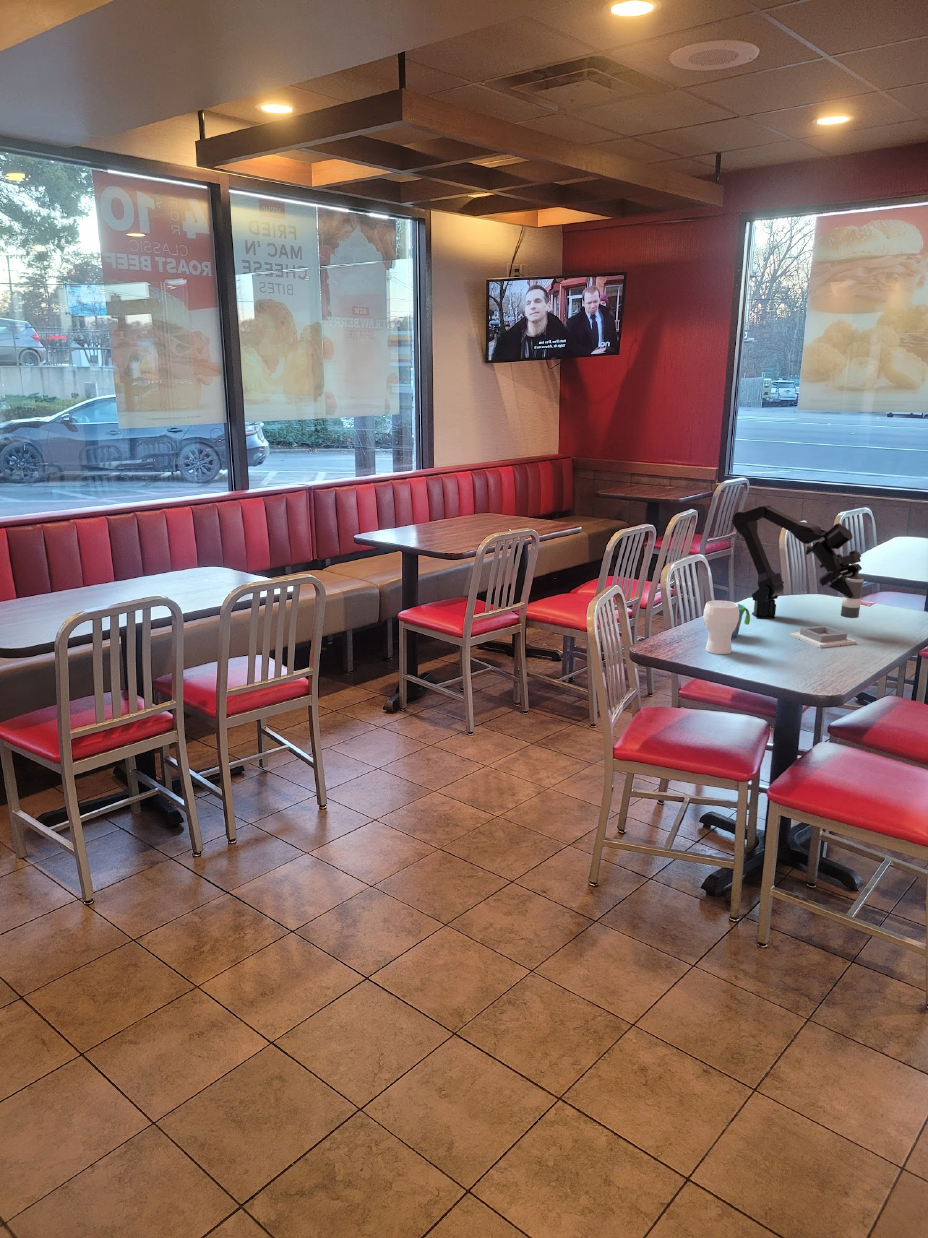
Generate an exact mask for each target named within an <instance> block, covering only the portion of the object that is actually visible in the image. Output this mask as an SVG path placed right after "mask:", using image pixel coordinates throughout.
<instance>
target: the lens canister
mask: <svg viewBox="0 0 928 1238" xmlns="http://www.w3.org/2000/svg"><path fill="white" fill-rule="evenodd" d="M864 581H865V580H864V577H863V576H858V575H857V576H846V578H845V582H846V584H847V585H848V587H849V589H850V590H851V592H852V594H853V597H852V598H849V597H848V596H846V595H844V594H842V601H841V610H840V616H841V617H843V618H848V619H858V618H859V617H860V609H861V604H862V602H861V601H862V593H863V585H864Z"/></svg>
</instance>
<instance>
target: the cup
mask: <svg viewBox="0 0 928 1238" xmlns="http://www.w3.org/2000/svg"><path fill="white" fill-rule="evenodd" d="M738 604H739V603H737V604H736V602H734V601H729V600H710V601H709V600H708V601H707V602H706V603H705V606H704V609H703V623H704V622H705V624H704V626H705V625H706V626H705V627H706V630H707V637H708V638H707V642H706V645H705V646H706V647H705V651H706V652H708V653H711V654H714V655H715V654H716V655H727V654H730V653H732V640H731V639H732V637H731V636H732V632H733V631H734V629H735V628H736V626H737V623H738V621H739V607H738Z"/></svg>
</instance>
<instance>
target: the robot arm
mask: <svg viewBox="0 0 928 1238" xmlns="http://www.w3.org/2000/svg"><path fill="white" fill-rule="evenodd" d="M761 519H765V520H767V521H769V522H771V523H772V524H774V525H776V526H779V527H780V528H782V529H785V530H786V531H789V532H790V533H791V534H792V535H793V537H795V539H797V540H798V541H799V542H801V543H802V544H804V545H807V544H808V545H809V544H813V543H814V544H813V545H809V546H806V551H805V555H806V556H808V555H811V554H812V555H814V557H815V558H816V559H817V561H818V562H819V563H820V565H819V567H820V568H821V569H823V568H824V571H826V572H827V573H825V574H824V575H823V576H821V577H820V578H819V582H818V583H819V584H820V585H821V586H822V588H823V587H828V588H830V589H832V590H834V591H837V592H839V594H842V595H843V594H844V595H846V596H848V597H849V598H852V597H853V594H852V592H851V590H850V589H849V587H848V585H847V584H846V582H845V578H846V576H858V575H859V574H860V571H861V570H862V569H863V568H862V566H861V565H860V564H859V563H861V562H862V560H861V557H862V554H861V553H860V552H858V551H857V550H855V549H854V550H852V551H849V553H848V555H845V556H843V555H842V554H840V553H838V554H837V552H836V551H835V550H834V549H836V550H839V549H841V548H842V547H843V546H845V545H846V544H847V543H848V542H850V541H851V540H852V539H853V537H854V536H853V534H852V532H851V531H850V529H848V528H847V527H845V526H844V525H842V524H841V523H840V522H839V523H836V524H834V525H833V527H831V528H830V529H829V530H826V529H822V527H820V526H819V525H817V524H814V523H810V522H804V521H800V520H797V519H795V518H794V517H792V516H790V515H788V514H785V513H784V512H782V511H779V510H778V509H776V508H774V507H772V506H771V505H770V504H764V505H763V504H762V505H759V506H758V507H756V508H753V509H750V510H749V509H748V510H743V511H738V512H734V514H733V515H732V518H731V522H732V525H733V527H734V528H735V530H736V532H737V533H738V534H739V535H741V537H743V540H744V542H745V545H746V547H747V550H748V553H749V555H750V558H751V560H752V563H753V566H754V569H755V570H756V573H757V587H758V589H757V590H755V591H754V592H753V593H752V594H751V598H752V601H754V603H753V604H754V605H753V612H752V613H751V615H753V616H754V618H756V619H776V612H777V611H776V610H777V604H776V600H777V599H778V598H779V595H781V594H782V593H783V590H784V584H785V581H783V578H782V575H781V574H780V572H777V573H775V571H773V570H772V568H771V565H770V563H769V559H768V557H767V554H766V552H765V549H764V547H763V545H762V541H761V539H760V537H759V534H758V527H759V526H758V521H759V520H761ZM820 540H821V541H820Z"/></svg>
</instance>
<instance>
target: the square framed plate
mask: <svg viewBox="0 0 928 1238" xmlns="http://www.w3.org/2000/svg"><path fill="white" fill-rule="evenodd" d="M799 629H800V630H799V631H798V632H790V637H791V638H794V637H795V638H794V639H796V638H797V640H799V639H800V641H802V642H804V643H806V642H807V643H806V644H808V645H812V646H813V647H817V648H818V647H819V649H822V648H830V647H839V646H840V645H841V646H848V645H849V646H850V645H856V644H857V640H855V639H853V638H849V637H847V636H848V633H846V632H843V631H841V630H839V629H836V628H832V627H830V626H827V625H817V626H812V627H811V626H809V627H802V628H799Z"/></svg>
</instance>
